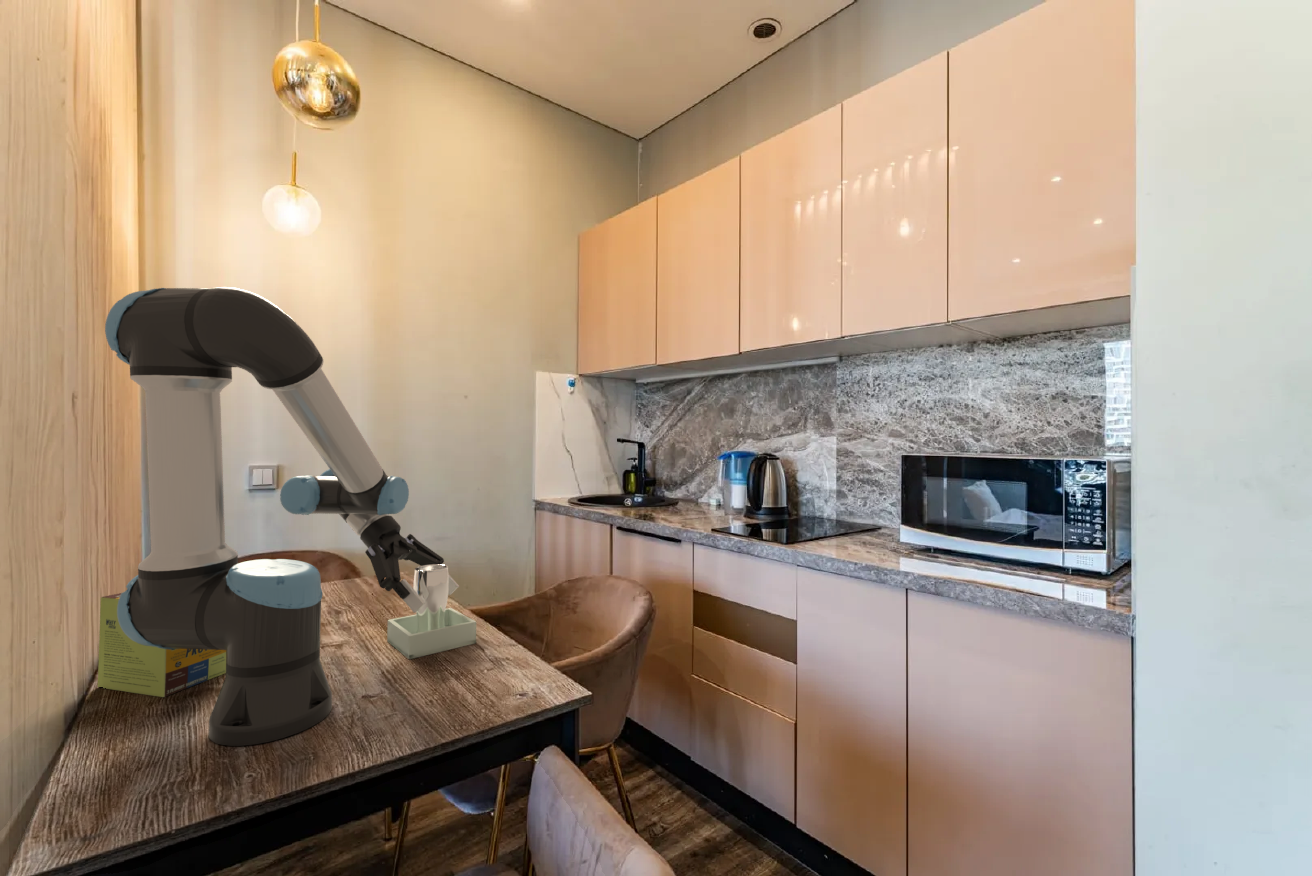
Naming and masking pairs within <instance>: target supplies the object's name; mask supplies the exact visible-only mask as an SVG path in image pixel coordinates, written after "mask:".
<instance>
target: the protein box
mask: <svg viewBox="0 0 1312 876" xmlns="http://www.w3.org/2000/svg"><path fill="white" fill-rule="evenodd" d="M121 593H122V592H119V593H113V594H109V595H104V596H101V597H100V607H99V608H100V609H99V611H100V612H99V632H98V633H99V635H98V636H99V637H98V638H99V639H98V667H97V669H98V670H97V688H99V687H103V688H102V689H105V688H106V689H107V690H113V691H118V692H119V691H121V692H127V693H132V694H140V695H147V696H154V697H159V698H166V697H168V696H171V695H173V694H175V693H179V692H181V691H183V690H186V689H189V688H191V687H193V686H196V685H199V684H201V683H204V682H206V681H209V680H212V679H215V678H217V677H219V676H223V675H226V650H215V649H162V648H158V647H153V646H145V645H142V644H139V643H137V642H135V641H133V640H131V639H130V638H129V637H128V636H127V635H126V634H125V633H124V632H123V630H122V629H121V627H120V624H119V621H118V617H117V606H118V601H119V598H120V595H121Z"/></svg>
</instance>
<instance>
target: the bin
mask: <svg viewBox="0 0 1312 876" xmlns="http://www.w3.org/2000/svg"><path fill="white" fill-rule="evenodd" d="M444 626H445V627H443V628H439V629H434V630H429V631H425V632H420V633H416V631H417V615H416V614H412V615H407V616H402V617H401V616H400V617H395V618H391V619H388V620H387V628H386V629H387V630H386V631H387V633H386V634H387V635H386V637H387V639H386V640H387V643H388V644H390V645H391V646H392V647H393V648H395V649H396V650H397V651H398V652H400V653H401V654H402V655H403V656H404V657H405V658H407V659H408V660H412V659H416V658H420V657H424V656H429V655H433V654H437V653H441V652H445V651H449V650H453V649H457V648H462V647H466V646H470V645H473V644H477V621H476V620H474V619H472V618H470V617H468V615H465V614H463V613H461V612H460V611H458V610H456V609H454V608H452V607H448V608H447V607H446V610H445V615H444Z"/></svg>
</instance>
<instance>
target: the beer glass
mask: <svg viewBox="0 0 1312 876" xmlns="http://www.w3.org/2000/svg"><path fill="white" fill-rule="evenodd" d="M448 574H449V565H446V564H443V563H442V564H432V565H423V566H420V565H418V566H416V567H415V568H414V576H413V587H412V588H413V589H414V590H415V591H416V592H417V594H418V595H419V596H420V597H421V598H422V599H423V601H424V602H425V604H424V605H423V606H422V607H421V608H420V609H419V610H418V611H417V612H415V613H416V614H415V615H417V631H416V633H420V632H425V631H429V630H434V629H439V628H443V627H445V626H444V615H445V610H446V609H447V604H448V599H449V594H448V592H449V576H448Z"/></svg>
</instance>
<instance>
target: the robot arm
mask: <svg viewBox="0 0 1312 876" xmlns="http://www.w3.org/2000/svg"><path fill="white" fill-rule="evenodd" d="M104 328H105V329H104V332H105V337H106V341H107V343H108V346H109V348H110V350H111V351H113V352H115V353H116V354H115V355H116V357H117V358H118V359H119V360H120V361H122V362H123V363H125V364H127V365H129V376H130V377H129V378H130V379H131V380H132V381H133V382H134V383H136V384H137V385H139V386H140V387H141V388H143V390H144V394H145V395H144V396H145V397H144V399H145V419H146V420H145V421H146V422H145V423H146V443H147V445H146V447H147V469H148V470H147V471H148V472H147V473H148V476H147V477H148V494H149V495H148V497H149V501H148V502H149V521H150V522H149V524H150V547H151V548H150V553H149V555H147V556H146V557H145V558H144V559H143V560H142V561H140V562H139V563H138V566H137V575H136V576H134V577H133V578H132V579H130V581H128V583H127V584H126V586H125V588H126V590H125V591H123V592H120V593H121V595H120V598H119V601H118V606H117V617H118V621H119V624H120V627H121V629H122V630H123V632H124V633H125V634H126V635H127V636H128V637H129V638H130V639H131V640H133V641H135V642H137V643H139V644H142V645H145V646H153V647H158V648H162V649H215V650H226V673H225V677H224V679H223V680H224V681H223V683H222V686H221V687H220V691H219V693H218V696H217V698H216V701H215V703H214V705H213V709H212V710H211V714H210V717H209V721H208V738H209V739H210V741H212V742H213V743H215V744H218V745H222V746H228V747H229V746H230V747H234V746H235V747H236V746H237V747H240V746H252V745H258V744H259V745H260V744H265V743H270V742H273V741H278V740H281V739H284V738H287V737H291V736H293V735H295V734H298V733H301V732H303V731H306V730H308V729H310V728H312V727H314V726H315V725H317V724H319V723H320V722H322V721H324V719H326V717H327V716H328V715H330V713H331V711H332V709H333V708H332V707H333V693H332V690H331V687H330V684H329V681H328V679H327V676H326V674H325V673H326V672H325V670H324V668H323V665H322V663H321V659H320V658H321V657H320V656H321V653H320V652H321V622H322V621H321V618H322V617H321V616H322V613H321V612H322V599H323V590H322V584H321V583H322V581H321V580H322V579H321V573H320V572H319V569H318V568H317V567H316V566H314V565H312V564H311V563H310V562H309V563H308V562H306V561H301V560H295V559H286V558H276V559H270V558H262V559H261V558H260V559H253V560H252V559H251V560H247V561H242V562H239V557H238V555H239V554H238V551H237V550H235V549H234V548H232V547H231V546H229V545H228V544H227V543H226V530H225V529H226V528H225V523H226V522H225V501H224V500H225V499H224V497H225V496H224V473H223V472H224V470H223V464H224V463H223V440H222V412H221V411H222V409H221V392H223V390H224V389H225V388H226V387H227V386H228V385H230V384H231V383H232V382H233V369H232V368H239V369H242V370H244V371H246V372H247V373H249V374H251V375H252V376H253V378H254V379H255V380H256V381H257V383H258V384H259V385H260V387H262V388H263V389H268V390H272V391H273V392H274V394H275V395H276V396H277V398H278V400H280V402H281V404H282V405H283V406H284V407H285V409H286V410H287V412H288V413H289V415H290V416H291V417H292V419H293V420H294V422H295V423H296V424H297V425H298V427H299V428H300V430H301V431H302V432H303V435H305V436H306V438H307V439H308V441H309V442H310V443H311V445H312V446H313V447H314V449H315V451H316V452H317V453H318V455H319V456H320V457H321V458H322V460H323V461H324V463H325V464H326V465H327V467H328V469H327V470H324V472H323V473H321V474H320V475H310V474H309V475H307V474H305V475H297V476H293V477H291V478H289V479H288V480H286V482H284V484H283V485H282V486H281V489H280V496H279V499H280V500H279V501H280V504H281V506H282V508H284V510H285V511H287V512H288V513H290V514H293V515H303V516H304V515H306V516H307V515H308V516H309V515H312V514H313V515H315V514H316V515H317V514H322V515H324V514H325V515H326V514H327V515H328V514H329V515H339V516H340V517H341V518H342V519H343V521H345V522H346V523H347V524H348V526H349V527H350V528H351V530H352V531H353V532H354V533H355V534H356V536H359V538H360V540H361V541H362V542H363V544H364V545H365V546H366V547H367V549H366V550H365V555H366V556H367V557H368V559H369V560H370V563H371V566H372V568H373V571H374V574H375V577H376V579H377V582H378V585H379V587H380V588H381V589H385V591H387V592H390V591H391V590H392V589H393V591H394V592H395V593H396V594H397V595H398V597H399V598H400V599H402V601H403V602H404V603H405V604H406V605H407V606H408V608H409V609H410V610H411V611H412V613H414V614H415V613H416V612H417V611H418V610H419V609H420V608H421V607H422V606H423V605H424V604H425V602H424V601H423V599H422V598H421V597H420V596H419V595H418V594H417V592H416V591H415V590H414V589H413V587H412V585H411V584H410V583H409V582H408V581H407V580H406V578H403V579H402V578H401V571H400V564H399V560H400V561H401V560H404V561H410V562H413V563H414V564H417V565H418V566H423V565H432V564H442V565H443V564H444V563H445V559H444V558H443V557H442V556H440V555H439V554H438V553H436V552H435V551H433V549H431V548H429V547H428V546H427V545H425V544H424V543H422V542H421V541H419V540H418V539H417V538H416V537H415V536H414V535H413V534H411V533H409V534H408V535H407V536H406V537H404V536H402V535H401V534H400V533H401V532H400V531H401V529H402V528H401V525H400V524H399V523H398V521H397V520H396V519H395V518H394V517H393V516H392V515H396V514H400V513H401V512H402V511H403V510H404V509H405V508H406V506H407V503H408V501H409V498H410V497H409V495H410V491H409V485H408V482H407V481H406V480H405V478H402V477H401V476H395V475H389V476H388V475H387V473H386V472H385V469H384V468H382V466H381V464H380V462H379V460H378V459H377V457H376V455H375V453H374V452H373V451H372V449H371V448H370V446H369V445H368V443H367V441H366V439H365V438H364V436H363V434H362V433H361V431H360V430H359V428H358V427H357V425H356V423H355V422H354V420H353V418H352V417H351V415H350V414H349V411H348V410H347V408H346V407H345V404H344V403H343V402H342V400H341V399H340V397H339V396H338V393H337V392H336V391H335V389H334V387H333V385H332V384H331V382H330V381H329V379H328V377H327V376H326V374H325V372H324V370H323V369H322V367H323V365H324V357H323V356H322V355H321V353H320V351H319V350H318V348H317V346H316V345H315V343H314V341H313V340H312V338H310V336H309V335H308V334H307V332H306V331H305V330H304V329H303V328H302V327H301V326H300V325H299V324H298V323H297V322H296V321H295V320H294V319H293V318H292V317H291V316H289V315H288V314H287V313H286V312H284V310H282V309H281V308H280V307H278V306H277V305H275V304H274V303H273V302H271V301H269V300H268V299H267V298H264V297H263V296H261V295H259V294H257V293H254V292H251V291H248V290H245V289H242V288H241V289H240V288H237V287H229V286H228V287H227V286H221V287H220V286H219V287H209V288H208V287H207V288H205V287H202V288H201V287H199V288H198V287H192V288H191V287H190V288H189V287H187V288H186V287H184V288H183V287H175V288H174V287H168V288H167V287H161V288H160V287H159V288H152V289H149V290H147V289H145V290H139V291H135V292H131V293H129V294H127V295H124V296H123V297H122V298H120V299H118V300H117V301H116V302H115V303H114V304H113V305H112V307H111V308H110V310H109V311H108V314H107V315H106V320H105V325H104ZM448 576H449V592H448V596H451V595H452V594H453V593H454V592H455V591H456V590H457V589H458V588H460V585H459V584H458V583H457V582H456V580H455V579H454V578H453V577H452V576H451V574H450V573H448ZM401 579H402V580H401Z"/></svg>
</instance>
